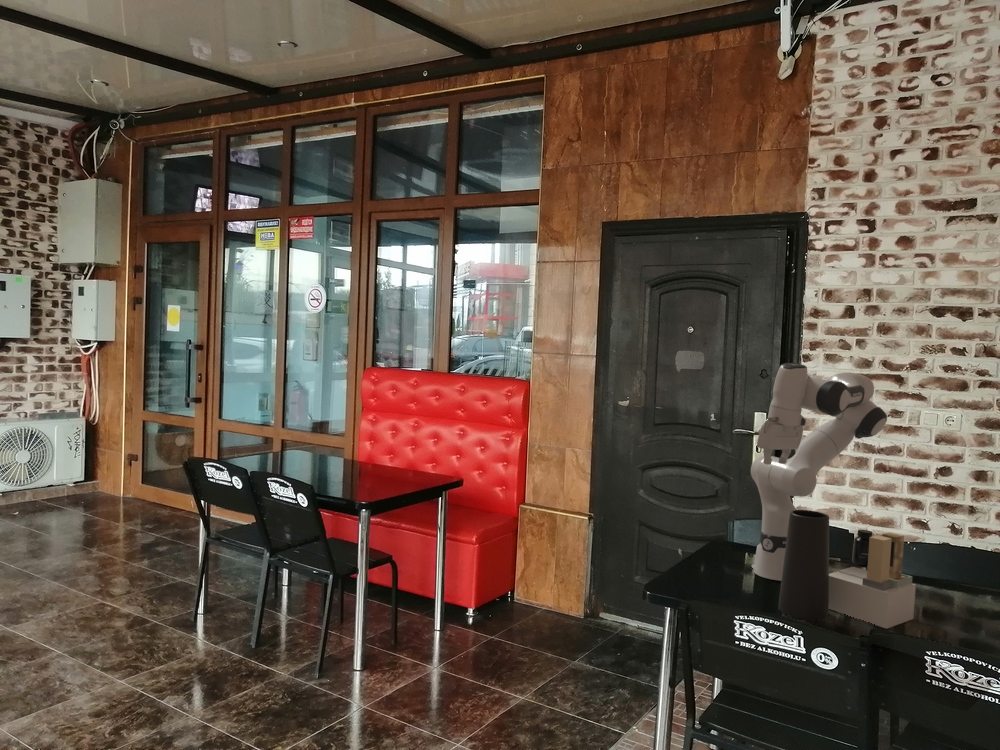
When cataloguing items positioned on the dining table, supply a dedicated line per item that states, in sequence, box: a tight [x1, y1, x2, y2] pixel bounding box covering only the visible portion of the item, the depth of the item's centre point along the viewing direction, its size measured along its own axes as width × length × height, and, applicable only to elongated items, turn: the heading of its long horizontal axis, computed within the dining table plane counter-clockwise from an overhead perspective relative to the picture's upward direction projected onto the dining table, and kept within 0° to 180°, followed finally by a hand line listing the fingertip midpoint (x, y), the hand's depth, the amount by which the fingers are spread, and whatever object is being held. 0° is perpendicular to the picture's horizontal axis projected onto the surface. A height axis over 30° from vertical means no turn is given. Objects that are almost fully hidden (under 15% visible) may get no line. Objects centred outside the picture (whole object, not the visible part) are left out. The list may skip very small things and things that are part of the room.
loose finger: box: [881, 532, 906, 580], centre depth 232 cm, size 6×6×14 cm
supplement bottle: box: [851, 529, 874, 568], centre depth 286 cm, size 7×7×12 cm
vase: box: [777, 509, 830, 622], centre depth 233 cm, size 14×14×29 cm
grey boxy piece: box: [829, 534, 917, 630], centre depth 234 cm, size 15×19×24 cm
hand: (774, 463), depth 237 cm, fingers open, 8 cm apart
